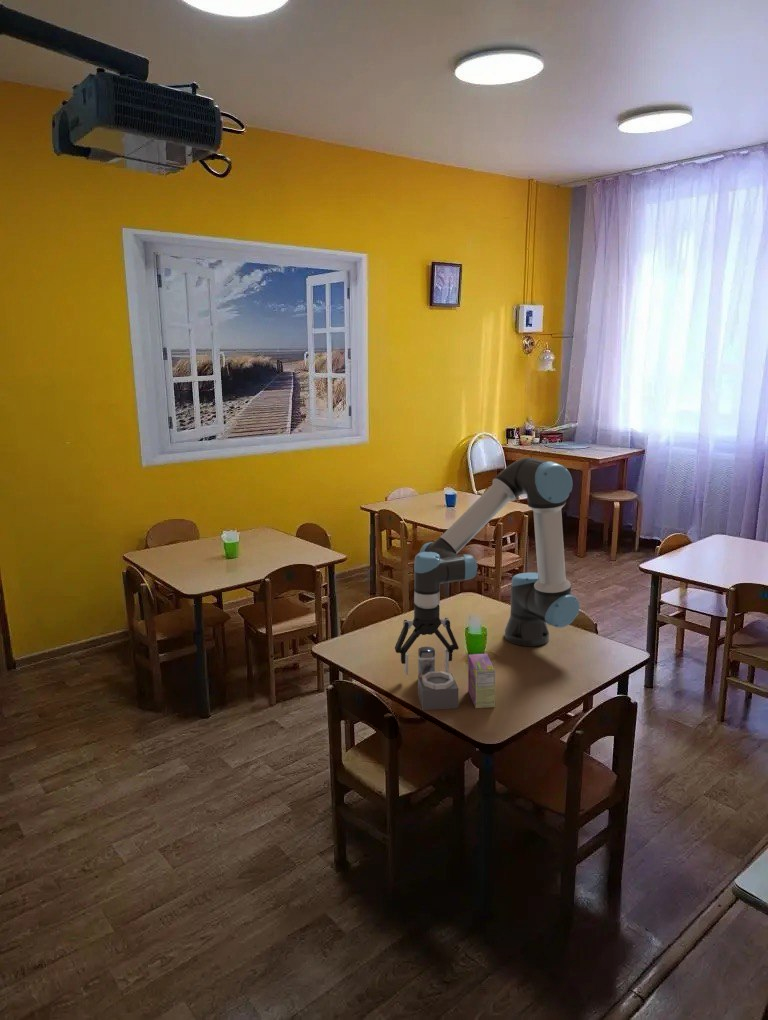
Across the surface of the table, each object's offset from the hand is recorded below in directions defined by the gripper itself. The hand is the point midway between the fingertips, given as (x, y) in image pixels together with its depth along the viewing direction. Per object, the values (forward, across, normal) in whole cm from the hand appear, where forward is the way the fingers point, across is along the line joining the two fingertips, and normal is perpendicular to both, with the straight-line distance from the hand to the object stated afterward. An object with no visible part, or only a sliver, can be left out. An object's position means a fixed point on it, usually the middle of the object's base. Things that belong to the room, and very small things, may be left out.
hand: (426, 671), depth 208 cm
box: (+3, -14, +13) cm, 19 cm away
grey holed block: (+3, -1, +13) cm, 13 cm away
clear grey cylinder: (+3, 0, 0) cm, 3 cm away
